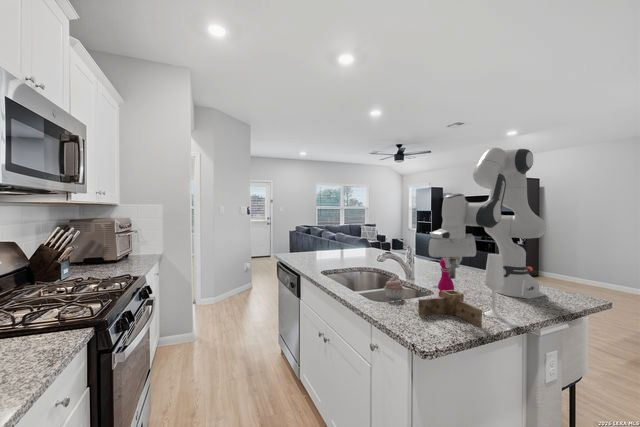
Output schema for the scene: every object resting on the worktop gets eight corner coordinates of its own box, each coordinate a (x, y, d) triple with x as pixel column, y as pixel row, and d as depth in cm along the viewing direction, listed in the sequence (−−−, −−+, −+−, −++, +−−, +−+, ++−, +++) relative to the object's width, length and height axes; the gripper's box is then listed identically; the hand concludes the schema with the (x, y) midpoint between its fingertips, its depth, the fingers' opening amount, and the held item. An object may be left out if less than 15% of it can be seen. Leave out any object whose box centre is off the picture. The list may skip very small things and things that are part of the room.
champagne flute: (505, 318, 112) (507, 256, 111) (486, 316, 114) (487, 255, 113) (500, 312, 118) (501, 253, 118) (482, 310, 120) (483, 252, 120)
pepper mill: (450, 294, 143) (451, 253, 143) (456, 298, 136) (457, 256, 136) (435, 293, 144) (436, 253, 144) (440, 298, 137) (441, 255, 136)
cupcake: (398, 302, 130) (398, 280, 130) (379, 298, 136) (380, 276, 136) (407, 297, 137) (407, 276, 137) (389, 293, 143) (389, 273, 143)
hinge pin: (452, 277, 120) (453, 256, 120) (457, 278, 117) (458, 257, 117) (446, 277, 119) (446, 256, 119) (451, 279, 116) (452, 257, 116)
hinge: (444, 330, 100) (444, 307, 100) (414, 312, 118) (415, 292, 118) (487, 325, 105) (487, 303, 105) (452, 308, 122) (453, 289, 122)
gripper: (468, 233, 124) (468, 265, 124) (426, 233, 119) (425, 267, 119) (480, 234, 118) (479, 268, 118) (436, 234, 112) (435, 270, 113)
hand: (452, 267), depth 118 cm, fingers closed on hinge pin, 2 cm apart
